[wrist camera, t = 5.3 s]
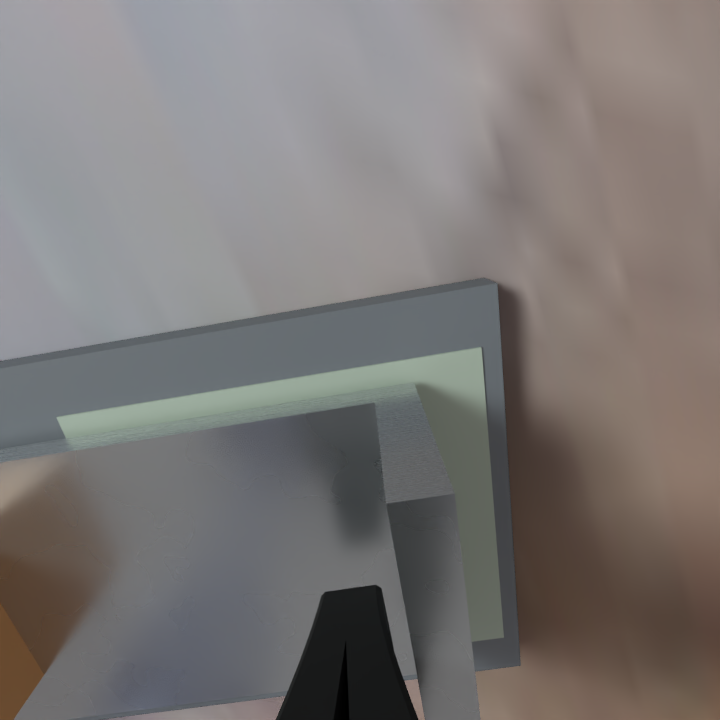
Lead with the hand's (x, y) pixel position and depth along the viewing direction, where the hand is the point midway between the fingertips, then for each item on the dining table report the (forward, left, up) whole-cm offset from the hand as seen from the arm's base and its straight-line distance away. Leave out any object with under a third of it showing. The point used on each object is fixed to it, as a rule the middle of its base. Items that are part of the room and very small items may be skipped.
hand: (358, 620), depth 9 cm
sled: (0, +7, -2) cm, 8 cm away
